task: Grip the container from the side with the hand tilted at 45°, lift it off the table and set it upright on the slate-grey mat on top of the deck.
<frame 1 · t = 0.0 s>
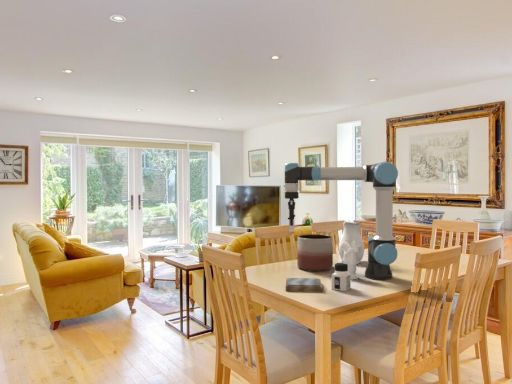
hand: (291, 230, 217), 28 cm above the table, tool pointing down, fingers open, 13 cm apart
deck: (303, 287, 204), on the table
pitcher: (350, 261, 271), on the table
planter: (314, 268, 249), on the table
cherub figurine: (352, 277, 224), on the table
container: (341, 289, 202), on the table
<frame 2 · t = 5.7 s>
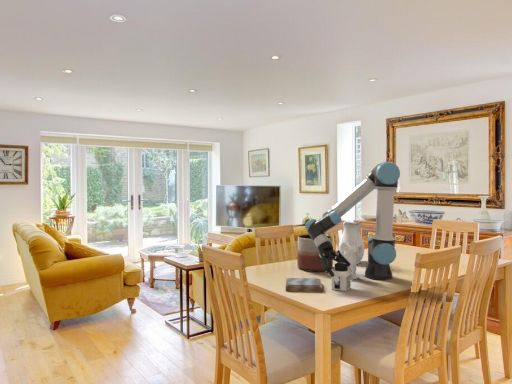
hand: (345, 280, 199), 5 cm above the table, tool tilted 45°, fingers closed on container, 10 cm apart
container: (341, 289, 202), on the table, touching gripper
everything else where it was.
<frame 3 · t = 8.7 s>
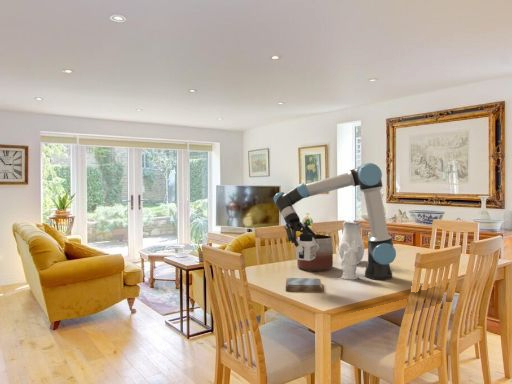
hand: (309, 250, 201), 20 cm above the table, tool tilted 45°, fingers closed on container, 10 cm apart
container: (305, 259, 204), point 15 cm above the table, touching gripper
everything else where it was.
when the fingers open (9 cm above the table, at t = 11.7 s): container drops 1 cm, resting on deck.
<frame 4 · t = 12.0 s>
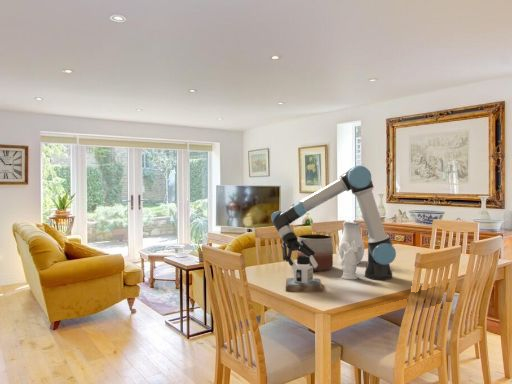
hand: (306, 268, 202), 10 cm above the table, tool tilted 45°, fingers open, 13 cm apart
container: (303, 281, 204), point 3 cm above the table, touching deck
everything else where it was.
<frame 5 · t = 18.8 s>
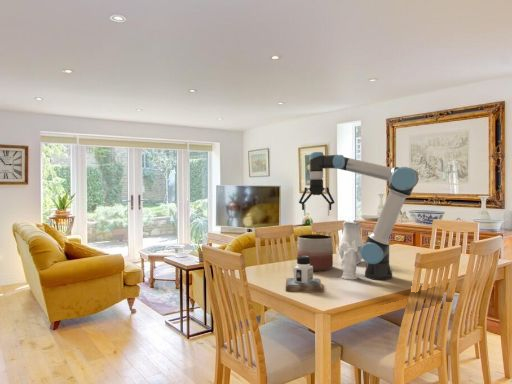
hand: (316, 215, 229), 35 cm above the table, tool pointing down, fingers open, 13 cm apart
nothing on the table moved.
at the end: container inside the target area on the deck (0.1 cm from its centre), point 2.8 cm above the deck's base; container tilted 0°; the gripper is holding nothing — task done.
